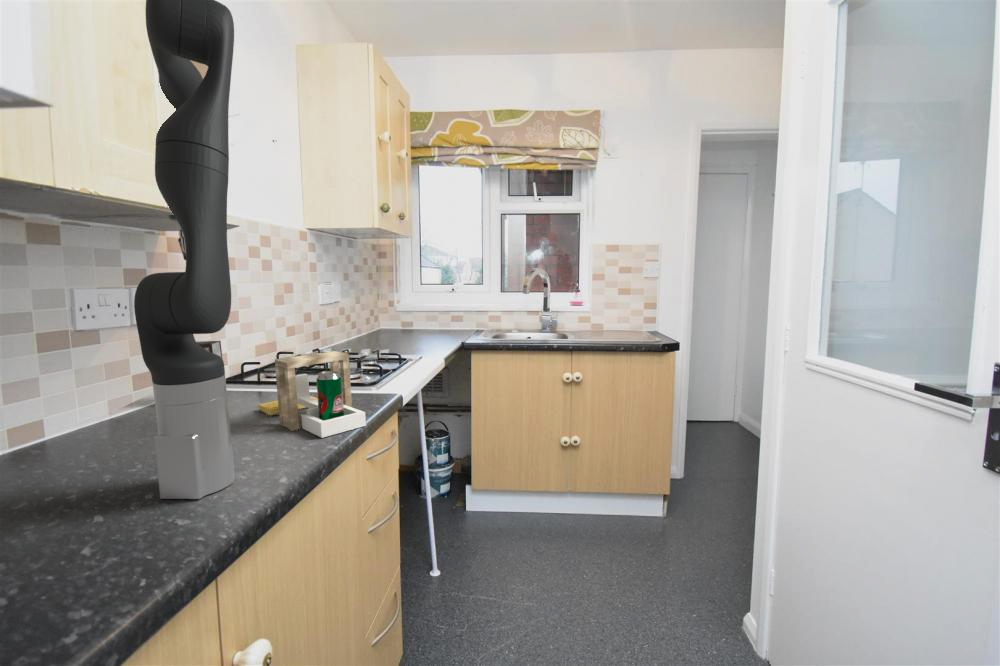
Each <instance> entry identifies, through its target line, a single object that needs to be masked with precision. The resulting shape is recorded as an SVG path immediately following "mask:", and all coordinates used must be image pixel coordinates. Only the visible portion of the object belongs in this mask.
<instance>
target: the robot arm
mask: <svg viewBox="0 0 1000 666" xmlns="http://www.w3.org/2000/svg"><path fill="white" fill-rule="evenodd" d="M234 24H235V23H234V18H233V15H232V12H231V10H230V9H229V8H228V7H227V6H226V5H225V4H223V3H221V2H219V1H217V0H145V26H146V27H145V28H146V32H147V38H148V42H149V45H150V49H151V52H152V57H153V59H154V63H155V65H156V68H157V73H158V84H159V83H160V86H161V89H162V91H163V93H164V94H165V96H166V98H167V99H168V100H169V102H170V103H171V104H172V105H173V106H174V108H176V111H175V112H174V113H173V114H172V115H171V116H170V117H169V118H168V119H167V120H166V121H165V122H164V123H163V124H162V126H161V127H160V129H159V131H158V133H157V132H156V137H155V148H154V149H155V153H154V156H155V157H154V177H155V182H156V185H157V187H158V190H159V192H160V195H161V196H162V198H163V200H164V201H165V203H166V205H167V207H168V206H169V208H170V210H171V211H172V213H173V214H174V215H169V214H168V218H169V219H170V220H171V221H174V222H178V225H179V226H180V229H179V230H178V236H179V238H178V239H177V242H178V243H179V247H180V251H181V253H182V257H183V259H184V261H185V271H179V272H178V271H173V272H171V271H169V272H167V271H166V272H156V273H152V274H148V275H146V276H145V277H144V278H142V280H141V281H140V282H139V283H138V285H137V287H136V290H135V293H134V300H133V301H134V302H133V308H134V317H135V324H136V328H137V333H138V334H137V335H138V339H139V345H140V349H141V355H142V360H143V362H144V364H145V367H146V368H147V369H148V370H149V372H150V374H151V381H152V382H151V383H152V389H153V397H154V406H155V415H156V425H157V435H155V436H154V438H153V447H154V456H155V457H154V458H155V463H156V472H157V481H158V488H159V489H158V490H159V497H160V499H161V500H163V499H164V500H166V499H167V500H173V499H174V500H201V499H202V498H204V497H206V496H207V495H210V494H213V493H217V492H219V491H221V490H223V489H225V488H226V487H229V486H230V485H232V484H233V483H234V481H235V479H236V477H235V476H236V475H235V467H234V465H235V463H234V455H233V454H234V453H233V446H232V445H233V443H232V435H231V425H230V415H229V414H230V413H229V403H228V402H229V401H228V393H227V392H228V391H227V380H226V371H225V363H224V362H225V361H224V359H223V357H222V358H221V357H220V356H218V355H216V354H214V353H211V352H209V351H207V350H205V349H204V348H202V347H201V346H200V345H199V344H198V343H197V342H198V341H196V339H195V336H194V335H207V334H216V333H217V332H219V331H221V330H222V329H223V328H224V327H226V324H227V323H228V321H229V318H230V314H231V309H232V285H231V283H232V282H231V273H230V261H229V250H228V248H229V247H228V222H227V221H228V187H229V171H230V170H229V168H230V167H229V164H230V163H229V162H230V161H229V160H230V159H229V157H230V156H229V154H230V153H229V150H230V149H229V107H230V106H229V105H230V104H229V103H230V91H231V80H232V69H233V60H234V46H235V44H234V43H235V25H234ZM193 62H194V63H198V64H202V65H205V66H207V67H208V68H207V70H206V72H205V74H204V77H203V76H202V74H201V73H200V71H199V69H198V68H197V67H196V65H195V64H194V63H193Z"/></svg>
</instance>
